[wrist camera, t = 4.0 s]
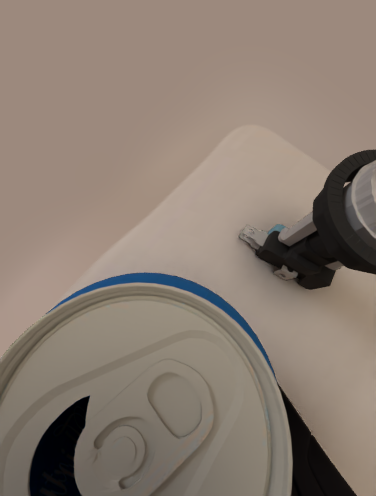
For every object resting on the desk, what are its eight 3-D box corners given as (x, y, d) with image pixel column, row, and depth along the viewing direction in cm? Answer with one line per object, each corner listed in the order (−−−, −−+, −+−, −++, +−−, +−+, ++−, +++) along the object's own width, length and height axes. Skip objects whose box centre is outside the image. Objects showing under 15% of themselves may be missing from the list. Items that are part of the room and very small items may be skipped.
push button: (223, 263, 17) (287, 199, 8) (253, 207, 19) (339, 94, 9) (305, 310, 17) (483, 302, 7) (330, 248, 18) (505, 174, 9)
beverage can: (92, 342, 15) (-152, 422, 4) (170, 280, 17) (166, 204, 5) (151, 431, 14) (59, 932, 3) (230, 357, 16) (393, 472, 4)
